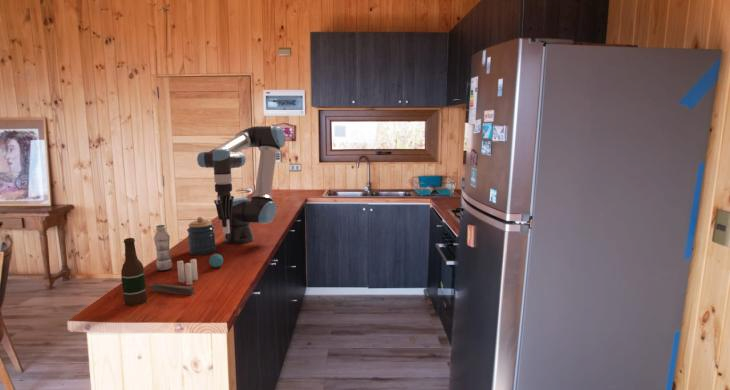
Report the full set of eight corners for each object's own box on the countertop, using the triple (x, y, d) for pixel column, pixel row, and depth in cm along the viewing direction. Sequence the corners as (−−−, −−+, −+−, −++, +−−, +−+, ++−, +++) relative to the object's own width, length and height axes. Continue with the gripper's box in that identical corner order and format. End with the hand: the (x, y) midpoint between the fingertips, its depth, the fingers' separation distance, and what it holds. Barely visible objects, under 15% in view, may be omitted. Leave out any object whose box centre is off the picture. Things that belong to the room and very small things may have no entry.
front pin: (194, 278, 186) (192, 258, 184) (199, 278, 185) (197, 259, 184) (190, 280, 184) (188, 260, 182) (195, 280, 183) (193, 261, 182)
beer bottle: (151, 297, 166) (145, 235, 162) (141, 306, 159) (134, 241, 155) (130, 298, 166) (123, 236, 162) (119, 306, 158) (112, 242, 154)
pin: (188, 282, 181) (186, 262, 179) (193, 283, 180) (192, 263, 179) (184, 284, 179) (183, 264, 177) (190, 285, 178) (188, 265, 177)
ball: (214, 264, 203) (213, 251, 202) (226, 265, 202) (225, 252, 201) (206, 268, 198) (205, 255, 197) (218, 269, 196) (217, 256, 195)
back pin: (181, 280, 184) (179, 260, 183) (186, 280, 183) (184, 260, 182) (177, 282, 182) (175, 262, 180) (182, 282, 181) (180, 262, 180)
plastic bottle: (155, 272, 193) (151, 228, 190) (158, 267, 200) (154, 224, 196) (171, 271, 195) (167, 227, 192) (173, 266, 201) (169, 223, 198)
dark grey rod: (154, 289, 174) (153, 283, 174) (194, 293, 170) (193, 286, 169) (150, 291, 172) (150, 285, 172) (191, 295, 168) (190, 288, 168)
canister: (207, 255, 216) (204, 220, 213) (183, 254, 219) (180, 219, 216) (220, 248, 229) (218, 214, 226) (198, 247, 232) (195, 214, 229)
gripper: (223, 181, 210) (227, 229, 214) (207, 184, 198) (211, 236, 201) (238, 181, 208) (240, 230, 212) (222, 185, 196) (225, 237, 200)
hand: (226, 233), depth 207 cm, fingers closed
